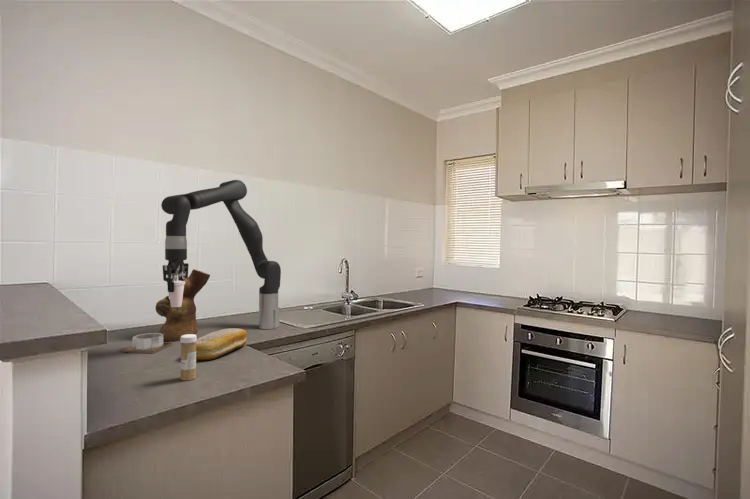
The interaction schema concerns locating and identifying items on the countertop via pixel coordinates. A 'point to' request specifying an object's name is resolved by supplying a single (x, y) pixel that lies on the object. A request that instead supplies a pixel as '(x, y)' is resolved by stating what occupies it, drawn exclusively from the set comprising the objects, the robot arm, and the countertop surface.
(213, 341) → the bread
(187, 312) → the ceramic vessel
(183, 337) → the sprinkles bottle
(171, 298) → the smoothie
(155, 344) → the duct collar
